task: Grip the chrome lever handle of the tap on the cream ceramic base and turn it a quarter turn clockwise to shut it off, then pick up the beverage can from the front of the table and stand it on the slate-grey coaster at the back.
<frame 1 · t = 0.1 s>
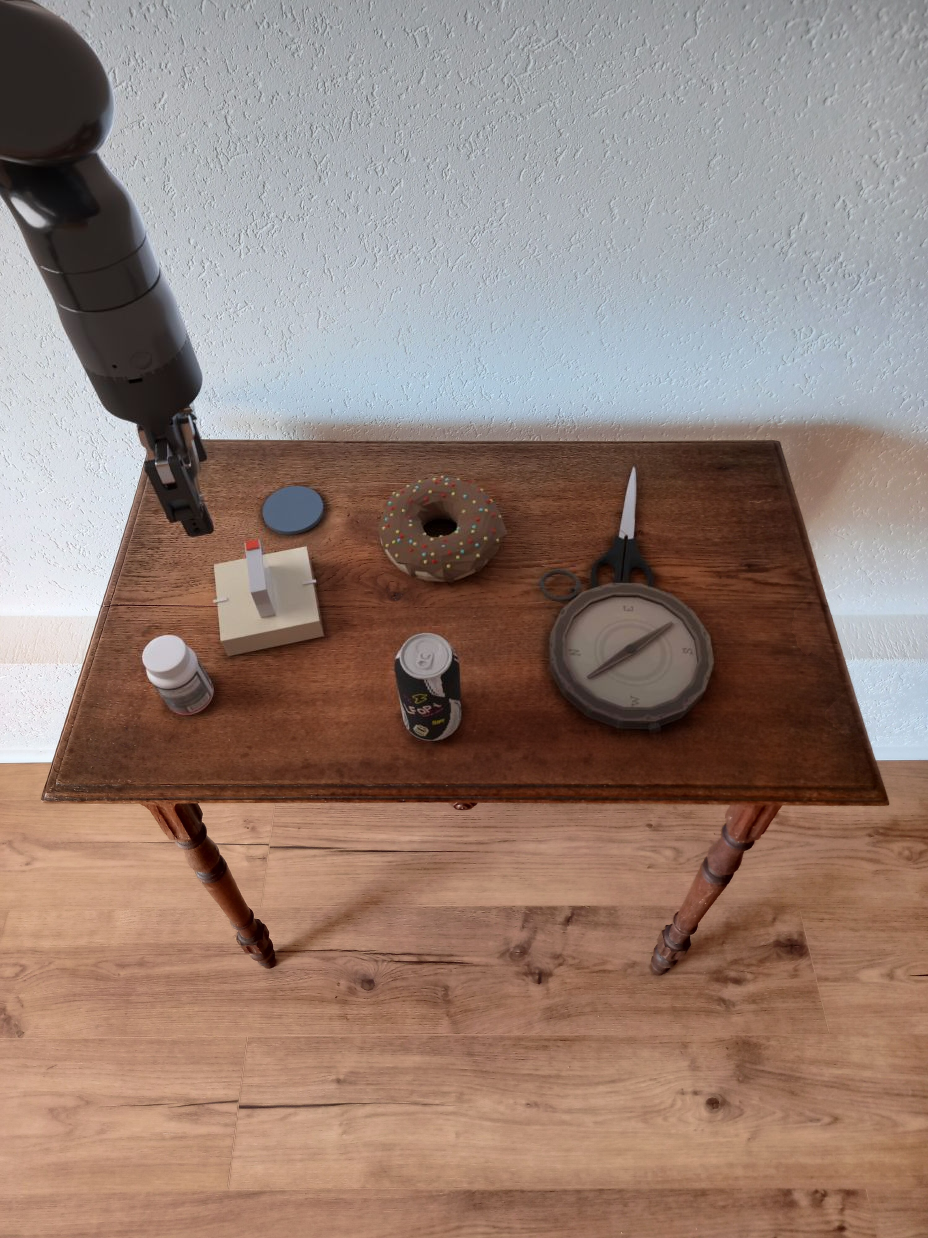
hand: (198, 495, 70), 19 cm above the table, tool pointing down, fingers open, 8 cm apart
donut: (444, 544, 91), on the table
pill bottle: (191, 696, 81), on the table
tap handle: (259, 577, 82), point 5 cm above the table, hinge at 90.0°
compass: (625, 647, 83), on the table, touching scissors
beverage can: (432, 718, 79), on the table
scissors: (624, 535, 91), on the table, touching compass
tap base: (271, 607, 87), on the table
coaster: (293, 511, 94), on the table
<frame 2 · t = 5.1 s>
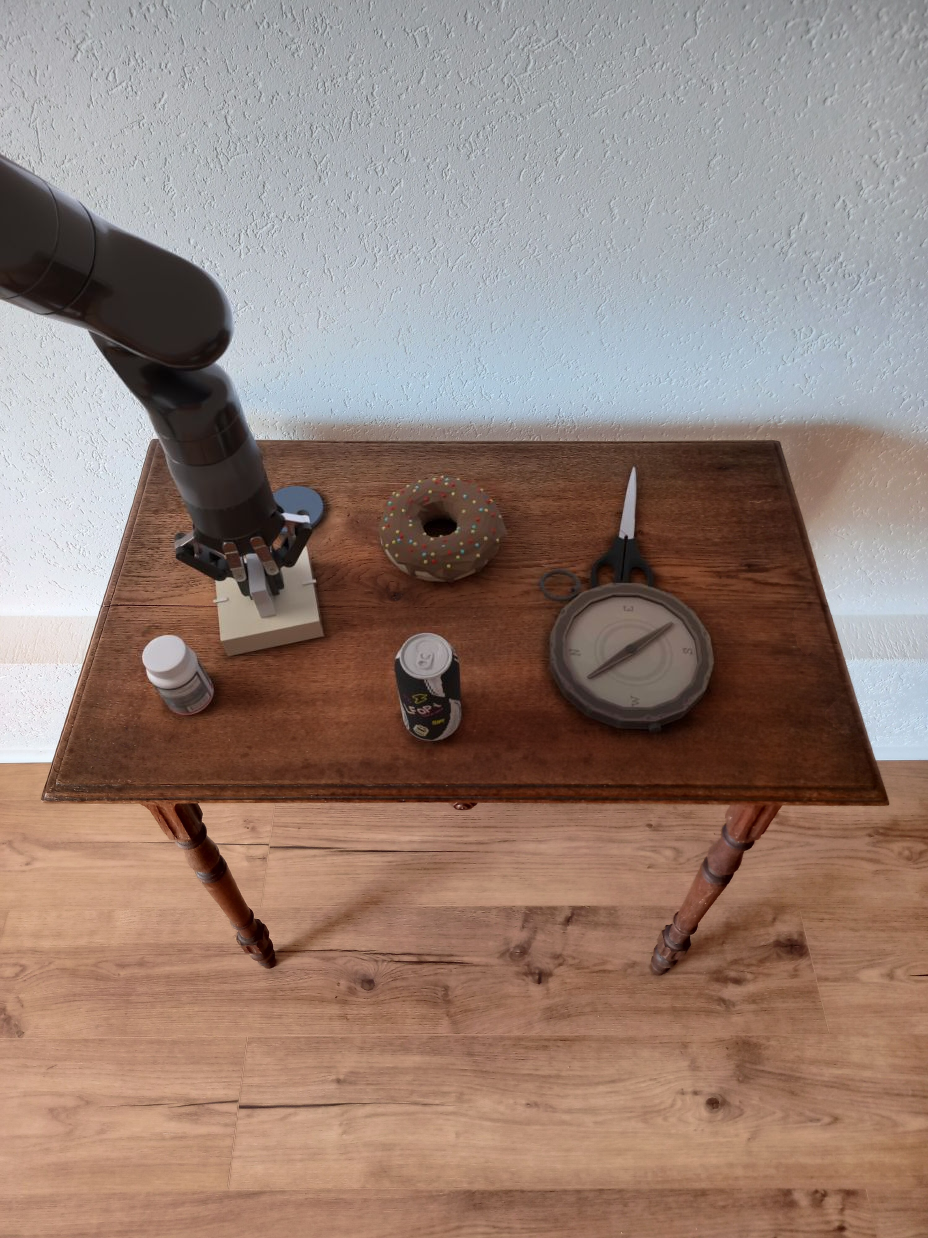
hand: (265, 590, 84), 3 cm above the table, tool pointing down, fingers closed on tap handle
tap handle: (259, 577, 82), point 5 cm above the table, hinge at 90.0°, touching gripper
everything else where it was.
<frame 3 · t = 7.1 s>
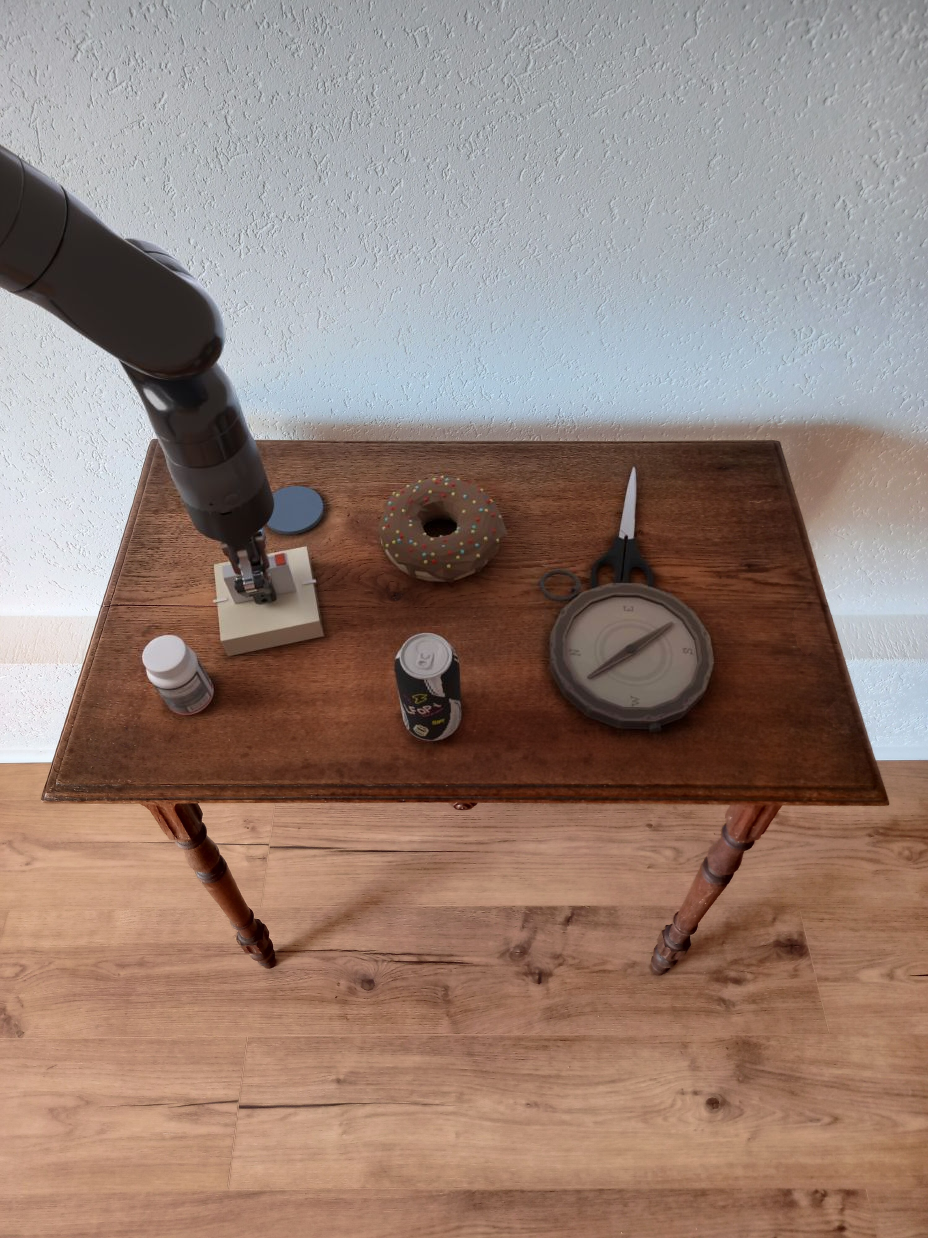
hand: (265, 591, 84), 3 cm above the table, tool pointing down, fingers closed, pressing on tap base, tap handle
tap handle: (259, 577, 82), point 5 cm above the table, hinge at 0.3°, touching gripper
everything else where it was.
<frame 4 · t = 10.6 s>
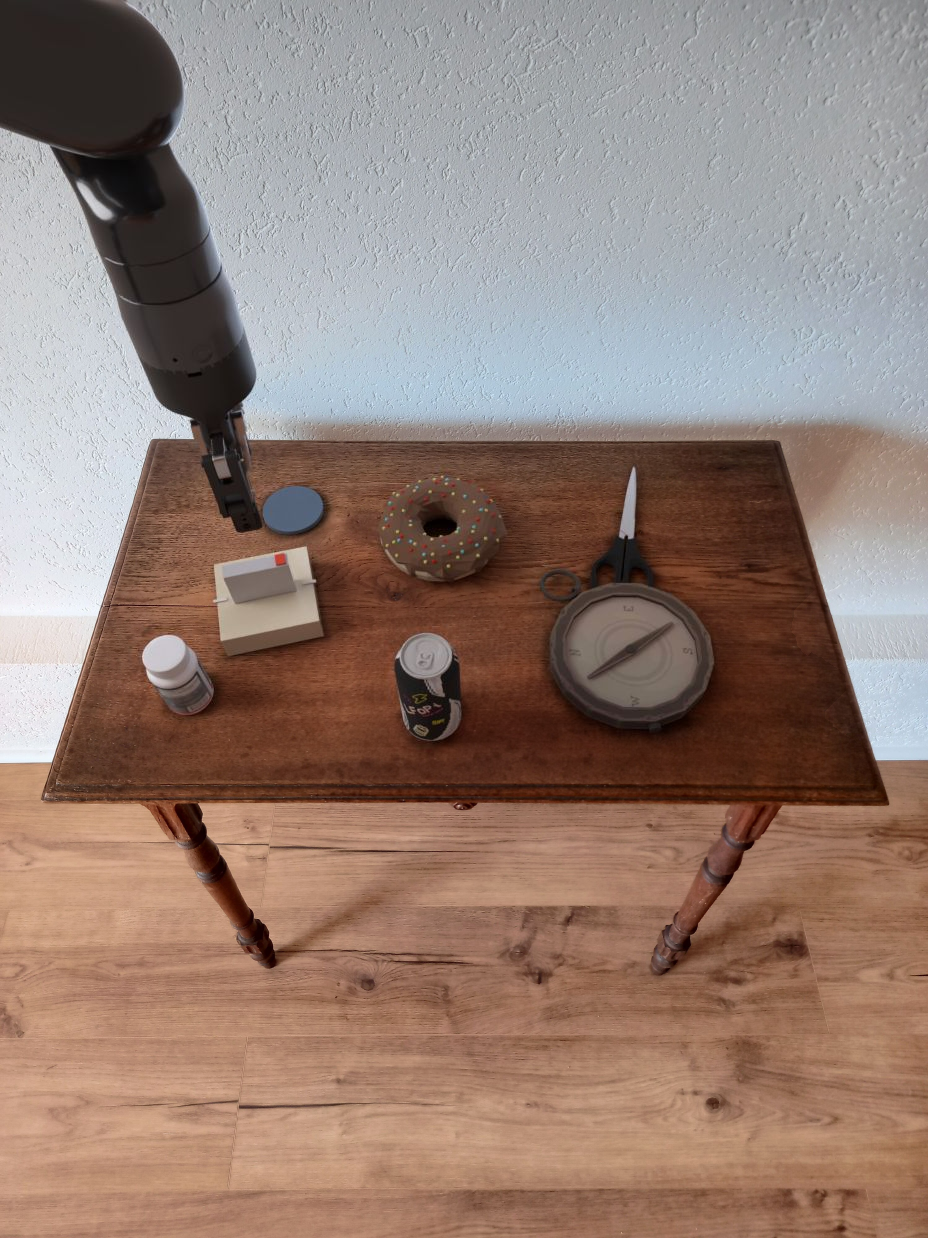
hand: (244, 491, 69), 20 cm above the table, tool pointing down, fingers open, 8 cm apart
tap handle: (259, 577, 82), point 5 cm above the table, hinge at 0.3°
everything else where it was.
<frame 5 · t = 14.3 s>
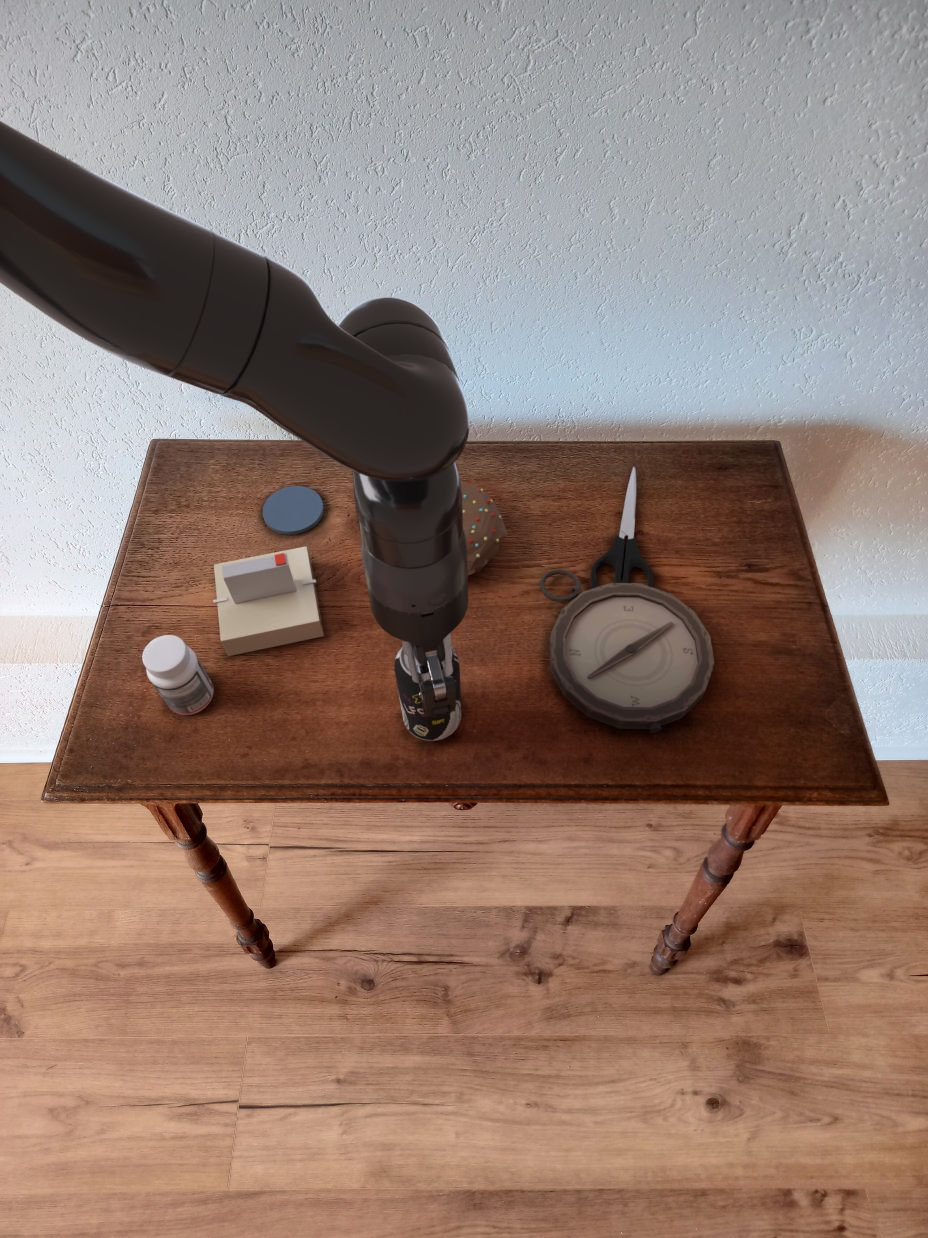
hand: (428, 680, 73), 8 cm above the table, tool pointing down, fingers closed on beverage can, 5 cm apart
beverage can: (432, 718, 79), on the table, touching gripper
everything else where it was.
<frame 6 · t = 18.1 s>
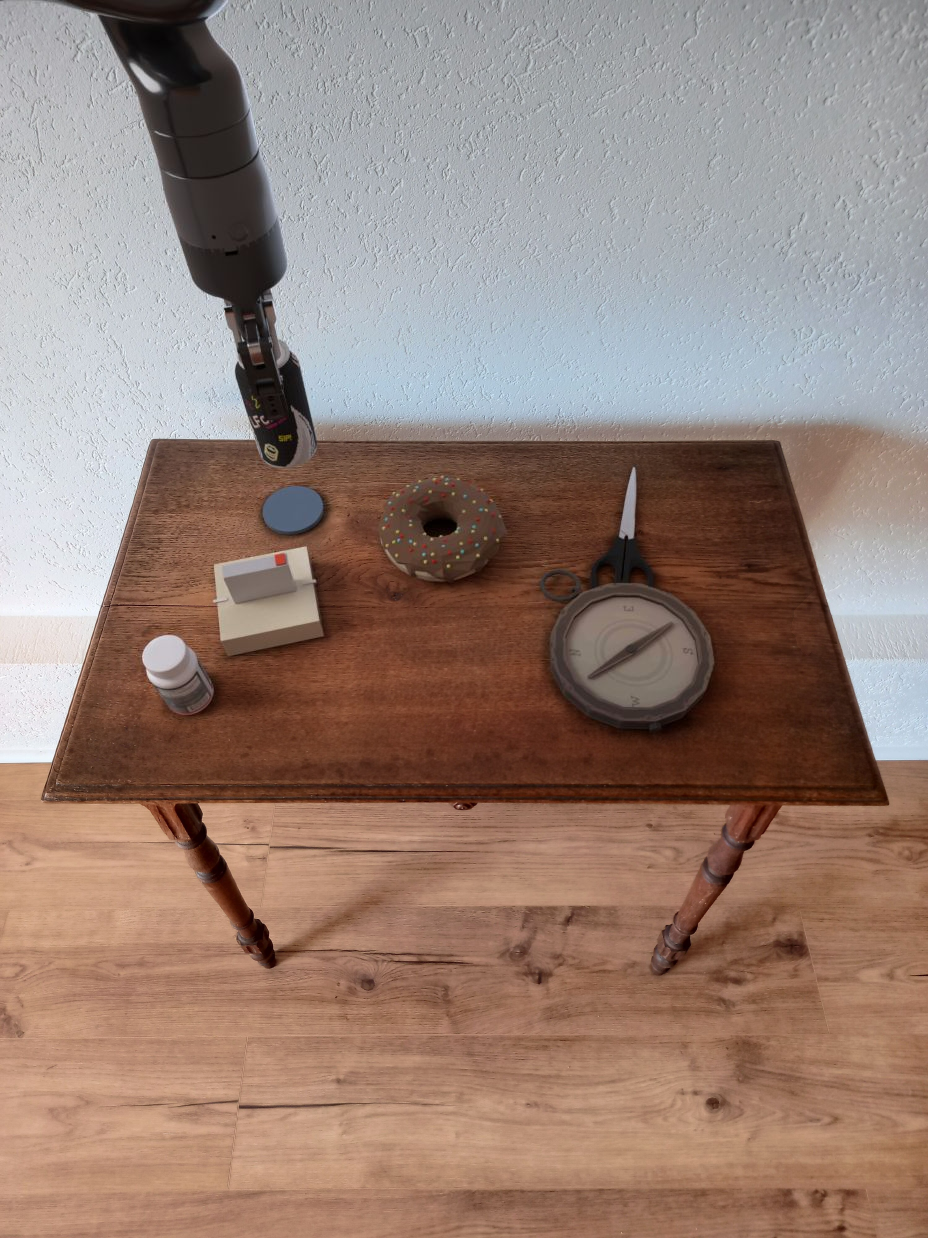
hand: (273, 392, 74), 21 cm above the table, tool pointing down, fingers closed on beverage can, 5 cm apart
beverage can: (290, 454, 80), point 14 cm above the table, touching gripper
everything else where it was.
when the fingers open (8 cm above the table, at t = 22.1 s): beverage can stays where it is, resting on coaster.
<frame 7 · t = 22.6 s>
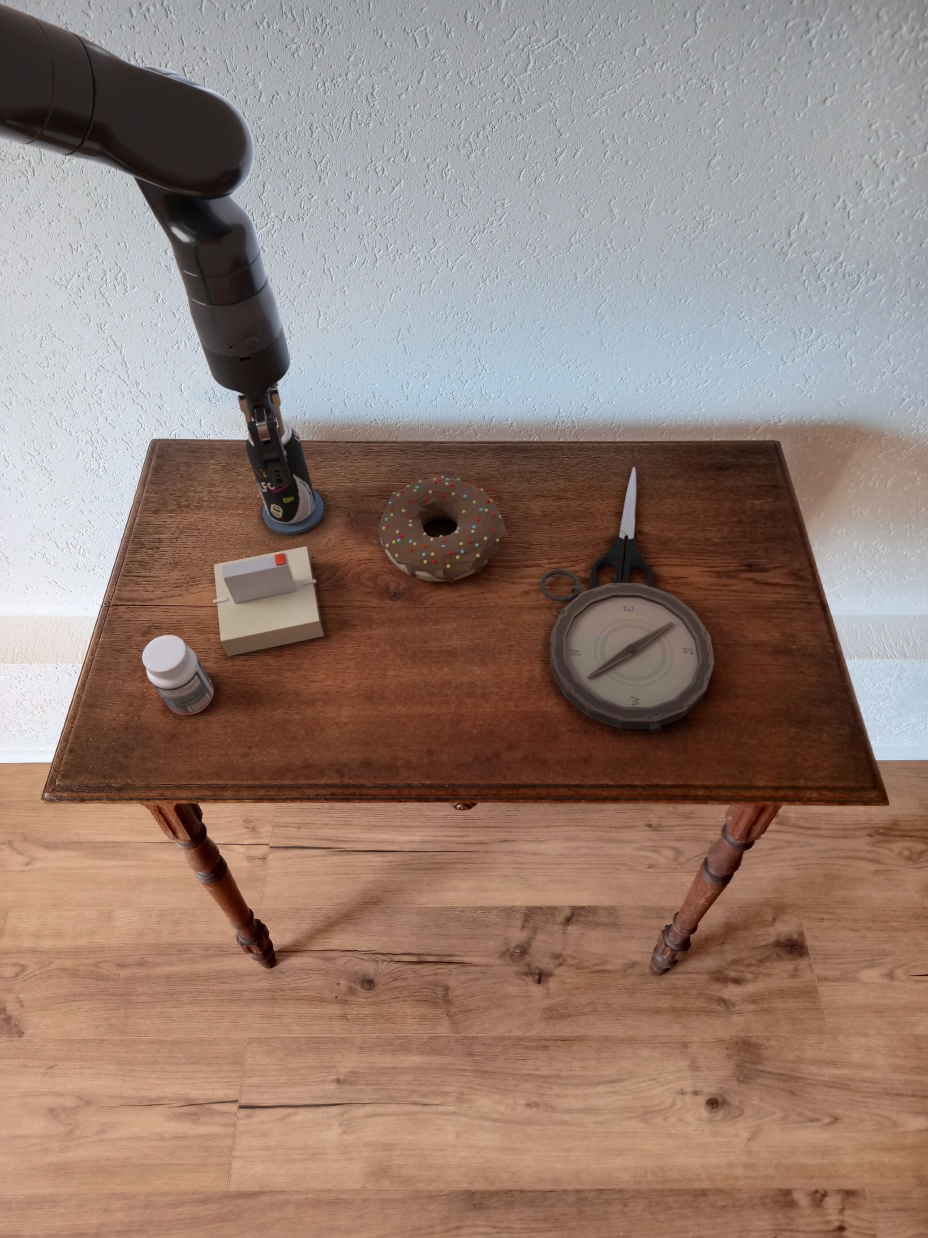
hand: (277, 454, 87), 9 cm above the table, tool pointing down, fingers open, 8 cm apart
beverage can: (292, 509, 94), resting on coaster
everything else where it was.
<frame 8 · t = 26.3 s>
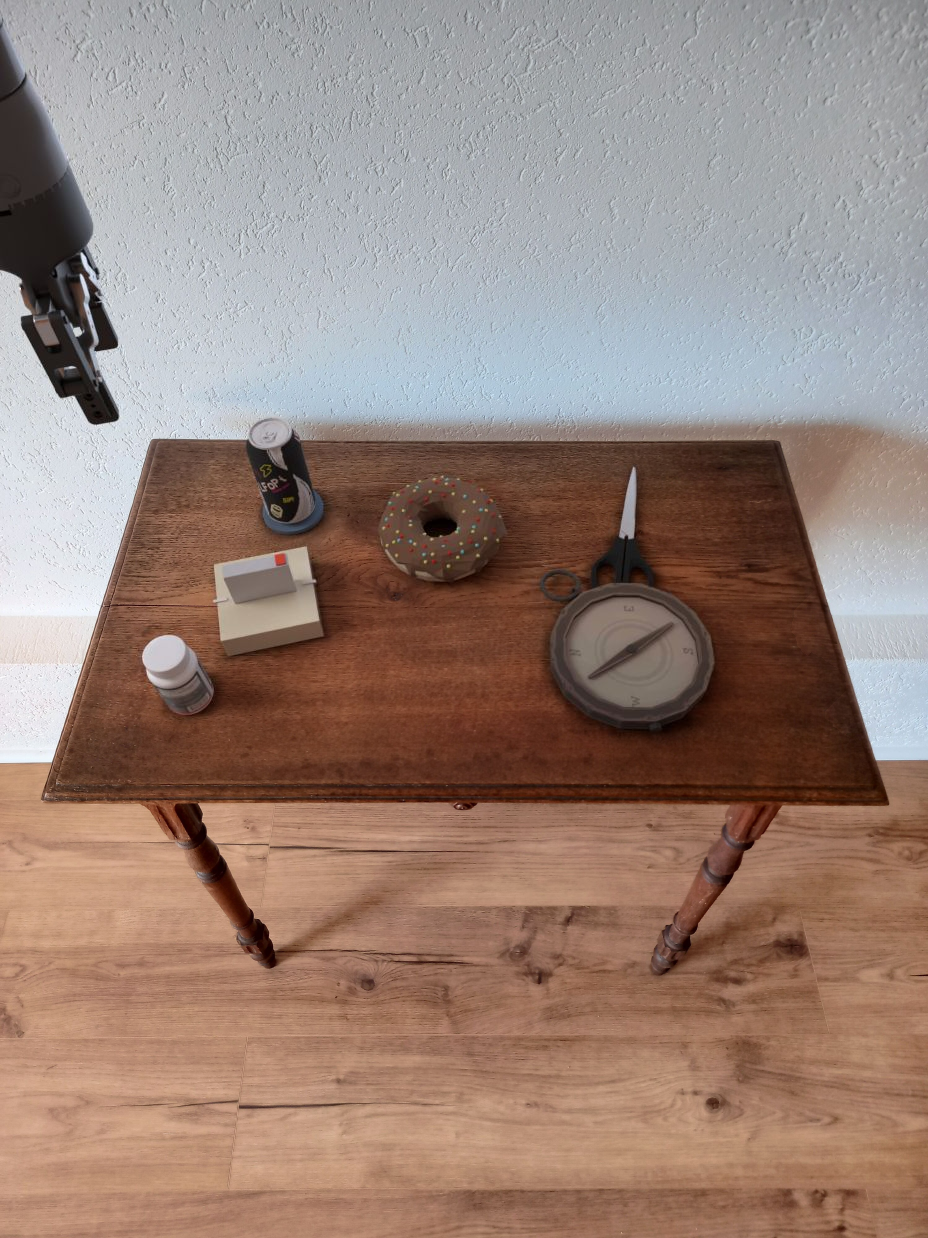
hand: (105, 382, 62), 30 cm above the table, tool pointing down, fingers open, 8 cm apart
nothing on the table moved.
at the end: tap handle at +0° (first picture: +90°); beverage can 0.1 cm off-centre on the coaster, point 0.4 cm above the coaster's base; beverage can tilted 0° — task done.
